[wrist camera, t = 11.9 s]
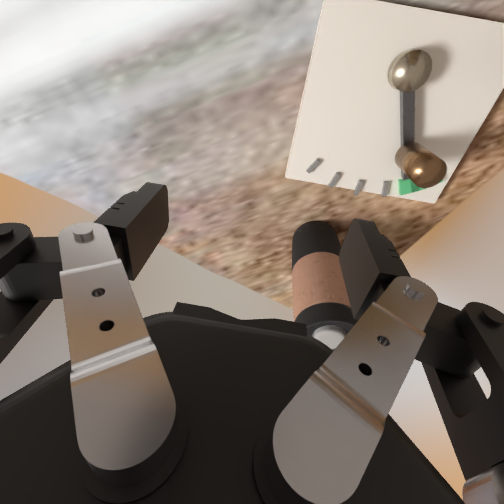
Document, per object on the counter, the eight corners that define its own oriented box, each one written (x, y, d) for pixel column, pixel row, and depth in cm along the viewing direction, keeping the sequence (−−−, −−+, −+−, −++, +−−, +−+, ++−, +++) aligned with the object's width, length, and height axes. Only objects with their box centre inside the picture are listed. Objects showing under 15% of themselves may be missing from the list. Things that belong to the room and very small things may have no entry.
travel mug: (347, 242, 45) (382, 349, 29) (308, 264, 49) (320, 371, 33) (321, 210, 42) (343, 309, 26) (281, 236, 46) (279, 337, 30)
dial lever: (386, 57, 29) (410, 59, 23) (424, 44, 28) (459, 42, 22) (391, 179, 36) (410, 203, 31) (421, 171, 36) (447, 195, 30)
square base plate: (324, -7, 28) (327, -10, 26) (527, 29, 28) (544, 28, 26) (284, 177, 40) (284, 183, 38) (428, 202, 40) (435, 209, 38)
